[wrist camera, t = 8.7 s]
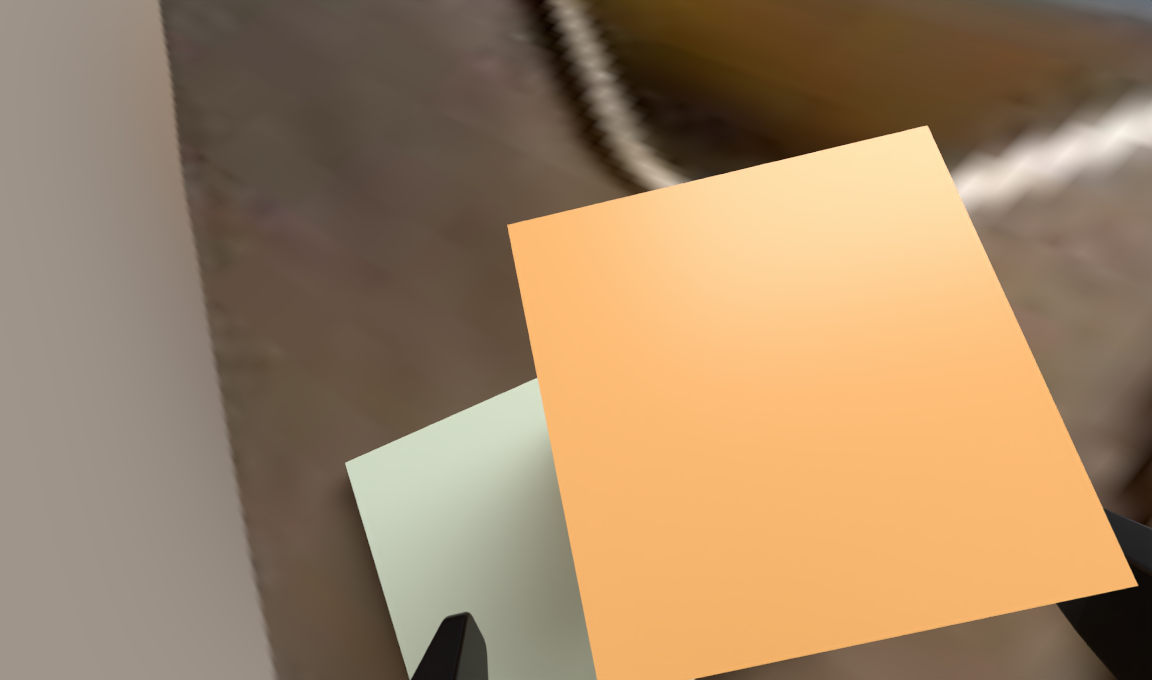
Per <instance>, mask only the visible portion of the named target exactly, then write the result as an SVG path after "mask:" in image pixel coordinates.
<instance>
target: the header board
mask: <svg viewBox="0 0 1152 680" xmlns="http://www.w3.org/2000/svg"><path fill="white" fill-rule="evenodd" d="M345 464H346V468H347V471H348V474H349V478H350V481H351V485H352V488H353V491H354V495H355V498H356V501H357V505H358V508H359V511H360V515H361V518H362V521H363V525H364V528H365V532H366V535H367V538H368V542H369V545H370V548H371V552H372V555H373V558H374V562H375V565H376V568H377V572H378V575H379V579H380V582H381V585H382V589H383V592H384V595H385V599H386V602H387V605H388V609H389V612H390V616H391V619H392V622H393V626H394V629H395V632H396V636H397V639H398V642H399V646H400V649H401V652H402V656H403V659H404V663H405V666H406V669H407V673H408V676H409V679H410V680H411V678H412V676H413V674H414V673H415V671H416V669H417V667H418V665H419V663H420V661H421V660H422V658H423V656H424V654H425V652H426V650H427V648H428V646H429V645H430V643H431V641H432V639H433V637H434V635H435V633H436V632H437V630H438V628H439V626H440V624H441V622H442V621H443V619H444V618H446V617H447V616H449V615H453V614H458V613H462V612H469V613H471V615H472V616H473V618H474V620H475V622H476V624H477V626H478V628H479V630H480V632H481V633H482V635H483V637H484V640H485V643H486V648H487V660H488V680H597V676H596V671H595V666H594V661H593V656H592V651H591V646H590V641H589V636H588V631H587V626H586V621H585V616H584V611H583V605H582V600H581V595H580V590H579V585H578V580H577V575H576V570H575V565H574V560H573V555H572V550H571V545H570V540H569V535H568V529H567V524H566V519H565V514H564V509H563V504H562V499H561V494H560V489H559V484H558V479H557V474H556V469H555V464H554V459H553V454H552V448H551V443H550V438H549V433H548V428H547V423H546V418H545V413H544V408H543V403H542V398H541V393H540V388H539V383H538V378H536V379H534V380H532V381H529V382H527V383H525V384H523V385H520V386H518V387H516V388H514V389H511V390H509V391H507V392H505V393H502V394H500V395H498V396H495V397H493V398H491V399H489V400H486V401H484V402H482V403H480V404H477V405H475V406H473V407H471V408H468V409H466V410H464V411H462V412H459V413H457V414H455V415H452V416H450V417H448V418H446V419H443V420H441V421H439V422H437V423H434V424H432V425H430V426H428V427H425V428H423V429H421V430H419V431H416V432H414V433H412V434H409V435H407V436H405V437H403V438H400V439H398V440H396V441H394V442H391V443H389V444H387V445H385V446H382V447H380V448H378V449H376V450H373V451H371V452H369V453H367V454H364V455H362V456H360V457H357V458H355V459H353V460H351V461H348V462H346V463H345ZM691 680H695V679H691Z"/></svg>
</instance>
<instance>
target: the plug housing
mask: <svg viewBox="0 0 1152 680" xmlns="http://www.w3.org/2000/svg"><path fill="white" fill-rule="evenodd" d="M507 226H508V231H509V236H510V241H511V246H512V251H513V256H514V261H515V266H516V271H517V276H518V281H519V286H520V291H521V296H522V302H523V307H524V312H525V317H526V322H527V327H528V332H529V337H530V342H531V347H532V352H533V357H534V362H535V367H536V372H537V378H538V383H539V388H540V393H541V398H542V403H543V408H544V413H545V418H546V423H547V428H548V433H549V438H550V443H551V448H552V454H553V459H554V464H555V469H556V474H557V479H558V484H559V489H560V494H561V499H562V504H563V509H564V514H565V519H566V524H567V529H568V535H569V540H570V545H571V550H572V555H573V560H574V565H575V570H576V575H577V580H578V585H579V590H580V595H581V600H582V605H583V611H584V616H585V621H586V626H587V631H588V636H589V641H590V646H591V651H592V656H593V661H594V666H595V671H596V676H597V680H691V679H696V678H701V677H706V676H711V675H715V674H720V673H725V672H730V671H734V670H739V669H744V668H749V667H753V666H758V665H763V664H768V663H772V662H777V661H782V660H787V659H792V658H796V657H801V656H806V655H811V654H815V653H820V652H825V651H830V650H834V649H839V648H844V647H849V646H854V645H858V644H863V643H868V642H873V641H877V640H882V639H887V638H892V637H896V636H901V635H906V634H911V633H915V632H920V631H925V630H930V629H935V628H939V627H944V626H949V625H954V624H958V623H963V622H968V621H973V620H977V619H982V618H987V617H992V616H996V615H1001V614H1006V613H1011V612H1016V611H1020V610H1025V609H1030V608H1035V607H1039V606H1044V605H1049V604H1054V603H1058V602H1063V601H1068V600H1073V599H1077V598H1082V597H1087V596H1092V595H1097V594H1101V593H1106V592H1111V591H1116V590H1120V589H1125V588H1130V587H1135V586H1138V584H1137V582H1136V580H1135V578H1134V575H1133V573H1132V571H1131V569H1130V567H1129V564H1128V562H1127V560H1126V558H1125V556H1124V554H1123V551H1122V549H1121V547H1120V545H1119V543H1118V540H1117V538H1116V536H1115V534H1114V532H1113V530H1112V527H1111V525H1110V523H1109V521H1108V519H1107V516H1106V514H1105V512H1104V510H1103V508H1102V505H1101V503H1100V501H1099V499H1098V497H1097V495H1096V492H1095V490H1094V488H1093V486H1092V484H1091V481H1090V479H1089V477H1088V475H1087V473H1086V471H1085V468H1084V466H1083V464H1082V462H1081V460H1080V457H1079V455H1078V453H1077V451H1076V449H1075V447H1074V444H1073V442H1072V440H1071V438H1070V436H1069V433H1068V431H1067V429H1066V427H1065V425H1064V423H1063V420H1062V418H1061V416H1060V414H1059V412H1058V409H1057V407H1056V405H1055V403H1054V401H1053V399H1052V396H1051V394H1050V392H1049V390H1048V388H1047V385H1046V383H1045V381H1044V379H1043V377H1042V375H1041V372H1040V370H1039V368H1038V366H1037V364H1036V361H1035V359H1034V357H1033V355H1032V353H1031V351H1030V348H1029V346H1028V344H1027V342H1026V340H1025V337H1024V335H1023V333H1022V331H1021V329H1020V327H1019V324H1018V322H1017V320H1016V318H1015V316H1014V313H1013V311H1012V309H1011V307H1010V305H1009V303H1008V300H1007V298H1006V296H1005V294H1004V292H1003V289H1002V287H1001V285H1000V283H999V281H998V279H997V276H996V274H995V272H994V270H993V268H992V265H991V263H990V261H989V259H988V257H987V255H986V252H985V250H984V248H983V246H982V244H981V241H980V239H979V237H978V235H977V233H976V230H975V228H974V226H973V224H972V222H971V220H970V217H969V215H968V213H967V211H966V209H965V206H964V204H963V202H962V200H961V198H960V196H959V193H958V191H957V189H956V187H955V185H954V182H953V180H952V178H951V176H950V174H949V172H948V169H947V167H946V165H945V163H944V161H943V158H942V156H941V154H940V152H939V150H938V148H937V145H936V143H935V141H934V139H933V137H932V134H931V132H930V130H929V128H928V126H924V127H919V128H915V129H911V130H907V131H902V132H898V133H894V134H890V135H886V136H881V137H877V138H873V139H869V140H865V141H860V142H856V143H852V144H848V145H843V146H839V147H835V148H831V149H827V150H822V151H818V152H814V153H810V154H805V155H801V156H797V157H793V158H789V159H784V160H780V161H776V162H772V163H767V164H763V165H759V166H755V167H751V168H746V169H742V170H738V171H734V172H730V173H725V174H721V175H717V176H713V177H708V178H704V179H700V180H696V181H692V182H687V183H683V184H679V185H675V186H670V187H666V188H662V189H658V190H654V191H649V192H645V193H641V194H637V195H632V196H628V197H624V198H620V199H616V200H611V201H607V202H603V203H599V204H594V205H590V206H586V207H582V208H578V209H573V210H569V211H565V212H561V213H557V214H552V215H548V216H544V217H540V218H535V219H531V220H527V221H523V222H519V223H514V224H510V225H507Z"/></svg>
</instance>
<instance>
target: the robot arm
mask: <svg viewBox="0 0 1152 680" xmlns="http://www.w3.org/2000/svg"><path fill="white" fill-rule="evenodd" d="M1102 508H1103V507H1102ZM1103 510H1104V512H1105V514H1106V516H1107V519H1108V521H1109V523H1110V525H1111V527H1112V530H1113V532H1114V534H1115V536H1116V538H1117V540H1118V543H1119V545H1120V547H1121V549H1122V551H1123V554H1124V556H1125V558H1126V560H1127V562H1128V564H1129V567H1130V569H1131V571H1132V573H1133V575H1134V578H1135V580H1136V582H1137V584H1138V586H1135V587H1130V588H1125V589H1120V590H1116V591H1111V592H1106V593H1101V594H1097V595H1092V596H1087V597H1082V598H1077V599H1073V600H1068V601H1063V602H1058V603H1056V604H1057V606H1058V607H1059V609H1060V610H1061V611H1062V613H1063V614H1064V616H1065V617H1066V618H1067V620H1068V621H1069V622H1070V624H1071V625H1072V626H1073V628H1074V629H1075V630H1076V631H1077V633H1078V634H1079V635H1080V636H1081V638H1082V639H1083V640H1084V641H1085V642H1086V644H1087V645H1088V646H1089V647H1090V648H1091V650H1092V651H1093V652H1094V653H1095V654H1096V656H1097V657H1098V658H1099V659H1100V660H1101V662H1102V663H1103V664H1104V665H1105V666H1106V667H1107V669H1108V670H1109V671H1110V672H1111V673H1112V675H1113V676H1114V677H1115V678H1116V679H1117V680H1152V528H1149V527H1147V526H1145V525H1142V524H1140V523H1138V522H1135V521H1133V520H1131V519H1128V518H1126V517H1124V516H1121V515H1119V514H1117V513H1114V512H1112V511H1110V510H1107V509H1105V508H1103ZM411 680H488V660H487V648H486V643H485V640H484V637H483V635H482V633H481V632H480V630H479V628H478V626H477V624H476V622H475V620H474V618H473V616H472V615H471V613H469V612H462V613H458V614H453V615H449V616H447V617H446V618H444V619H443V621H442V622H441V624H440V626H439V628H438V630H437V632H436V633H435V635H434V637H433V639H432V641H431V643H430V645H429V646H428V648H427V650H426V652H425V654H424V656H423V658H422V660H421V661H420V663H419V665H418V667H417V669H416V671H415V673H414V674H413V676H412V678H411Z"/></svg>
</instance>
